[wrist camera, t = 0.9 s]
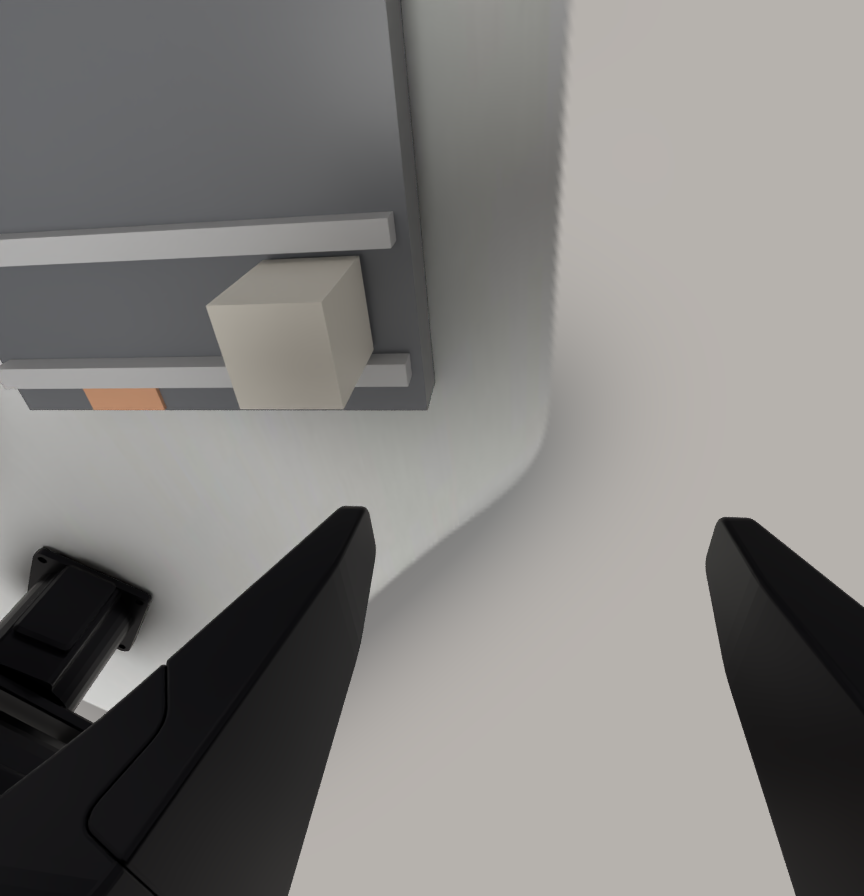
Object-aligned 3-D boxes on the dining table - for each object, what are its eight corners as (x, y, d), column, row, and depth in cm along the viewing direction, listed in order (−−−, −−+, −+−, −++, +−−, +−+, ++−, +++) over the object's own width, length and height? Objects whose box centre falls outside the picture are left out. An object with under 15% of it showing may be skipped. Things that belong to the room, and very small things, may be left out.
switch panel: (434, 382, 21) (424, 422, 19) (64, 385, 23) (15, 420, 21) (341, -657, 9) (282, -881, 7) (-371, -429, 12) (-580, -541, 10)
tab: (373, 349, 18) (343, 409, 15) (286, 351, 18) (240, 409, 15) (359, 255, 16) (321, 302, 13) (262, 260, 17) (205, 306, 14)
